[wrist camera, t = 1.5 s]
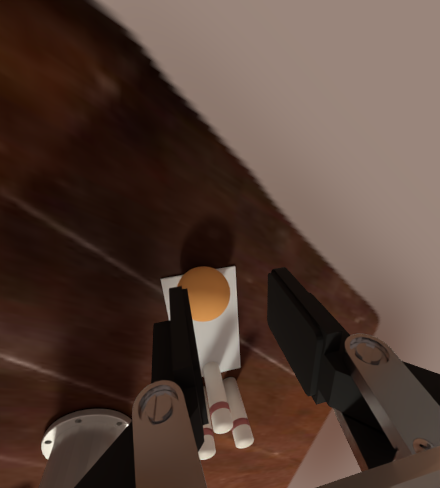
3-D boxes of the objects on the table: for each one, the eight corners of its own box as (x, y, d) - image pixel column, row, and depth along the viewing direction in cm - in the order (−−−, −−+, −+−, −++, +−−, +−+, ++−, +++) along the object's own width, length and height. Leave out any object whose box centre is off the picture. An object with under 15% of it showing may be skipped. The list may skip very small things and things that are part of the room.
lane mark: (240, 366, 38) (240, 367, 38) (181, 380, 37) (181, 381, 37) (234, 265, 30) (235, 266, 30) (160, 278, 29) (160, 279, 29)
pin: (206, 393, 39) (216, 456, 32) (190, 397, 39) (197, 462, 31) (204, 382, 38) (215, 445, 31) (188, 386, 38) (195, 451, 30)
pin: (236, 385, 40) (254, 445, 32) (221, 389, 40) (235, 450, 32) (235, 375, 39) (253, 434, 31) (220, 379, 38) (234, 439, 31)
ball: (225, 294, 32) (237, 327, 27) (178, 303, 31) (182, 339, 26) (221, 253, 29) (235, 280, 24) (170, 261, 28) (173, 292, 23)
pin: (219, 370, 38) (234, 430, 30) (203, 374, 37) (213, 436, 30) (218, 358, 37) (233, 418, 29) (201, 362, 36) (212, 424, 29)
